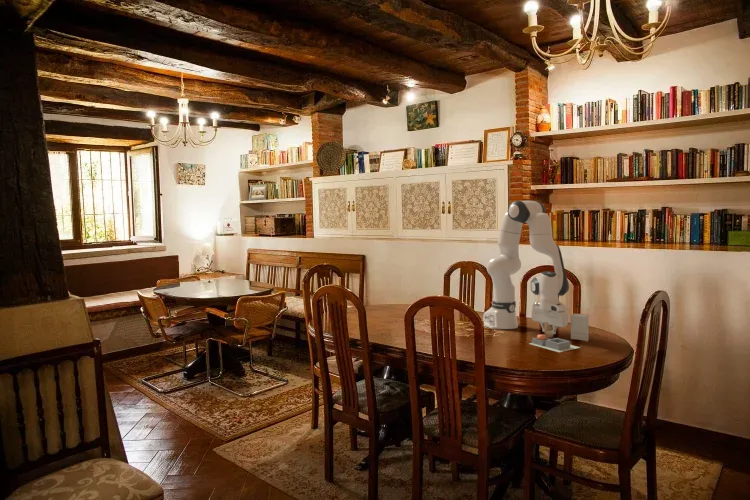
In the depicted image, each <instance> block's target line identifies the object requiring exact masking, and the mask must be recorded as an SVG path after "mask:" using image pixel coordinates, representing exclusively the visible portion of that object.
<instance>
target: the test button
mask: <svg viewBox="0 0 750 500" xmlns="http://www.w3.org/2000/svg"><path fill="white" fill-rule="evenodd" d="M536 338H537V339H538V340H541V341H543V340H546V338H547V337H546V335H545V334H544V333H543V334H537V336H536Z"/></svg>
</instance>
